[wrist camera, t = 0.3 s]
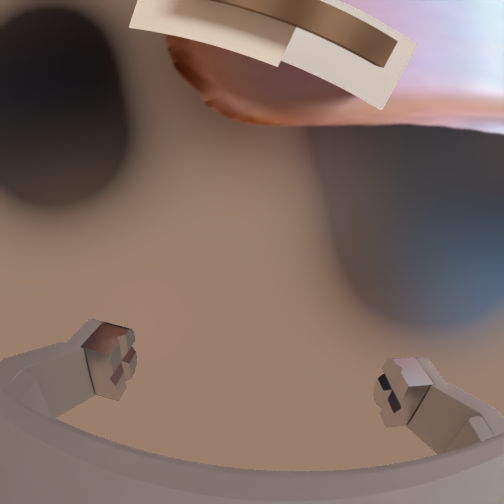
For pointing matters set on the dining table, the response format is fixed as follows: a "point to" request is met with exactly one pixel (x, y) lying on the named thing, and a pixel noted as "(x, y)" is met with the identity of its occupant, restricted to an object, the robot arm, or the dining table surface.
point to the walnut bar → (326, 25)
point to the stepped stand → (279, 42)
